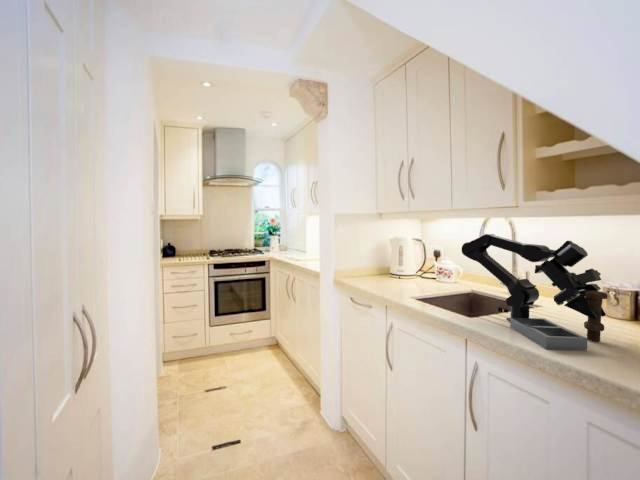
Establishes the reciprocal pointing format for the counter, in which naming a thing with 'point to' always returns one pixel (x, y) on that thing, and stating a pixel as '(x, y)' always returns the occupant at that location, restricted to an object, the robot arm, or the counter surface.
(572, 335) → the grey divided tray
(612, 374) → the counter surface
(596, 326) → the bolt
